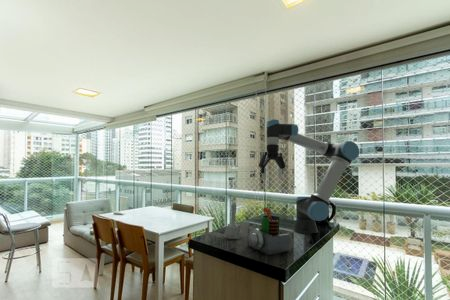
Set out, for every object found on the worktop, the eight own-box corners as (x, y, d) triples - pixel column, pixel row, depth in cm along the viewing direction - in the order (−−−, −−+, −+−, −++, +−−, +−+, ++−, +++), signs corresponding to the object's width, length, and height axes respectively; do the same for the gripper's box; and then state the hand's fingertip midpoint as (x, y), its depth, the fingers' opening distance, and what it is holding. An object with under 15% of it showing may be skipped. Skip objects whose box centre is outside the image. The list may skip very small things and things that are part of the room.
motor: (274, 252, 115) (274, 210, 117) (257, 248, 120) (258, 208, 121) (281, 246, 124) (281, 208, 125) (265, 243, 128) (265, 206, 130)
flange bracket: (267, 241, 132) (268, 222, 132) (289, 250, 118) (289, 229, 119) (242, 246, 122) (242, 225, 123) (262, 256, 109) (262, 233, 110)
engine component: (223, 238, 137) (240, 239, 135) (223, 202, 138) (240, 203, 136) (226, 233, 147) (242, 234, 145) (227, 200, 149) (243, 201, 147)
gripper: (282, 146, 156) (282, 178, 154) (253, 143, 143) (252, 178, 141) (291, 145, 149) (291, 179, 147) (261, 142, 136) (260, 179, 134)
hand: (272, 179), depth 144 cm, fingers open, 13 cm apart
